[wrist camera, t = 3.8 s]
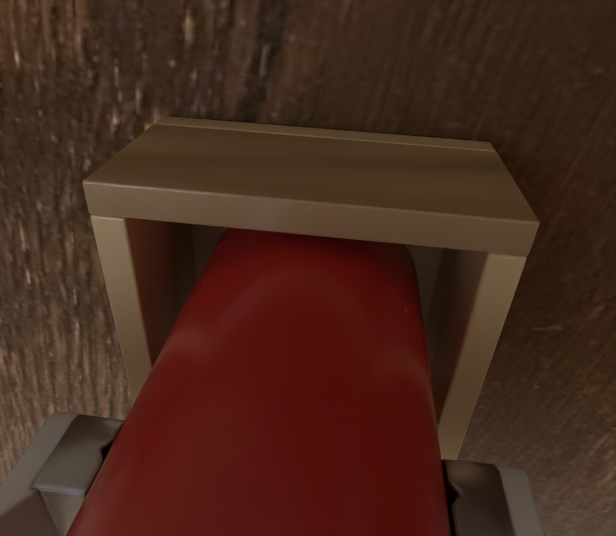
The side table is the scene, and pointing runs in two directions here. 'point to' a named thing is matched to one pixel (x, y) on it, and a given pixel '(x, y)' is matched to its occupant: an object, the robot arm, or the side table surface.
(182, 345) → the can
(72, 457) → the robot arm
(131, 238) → the holder
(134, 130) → the side table surface
